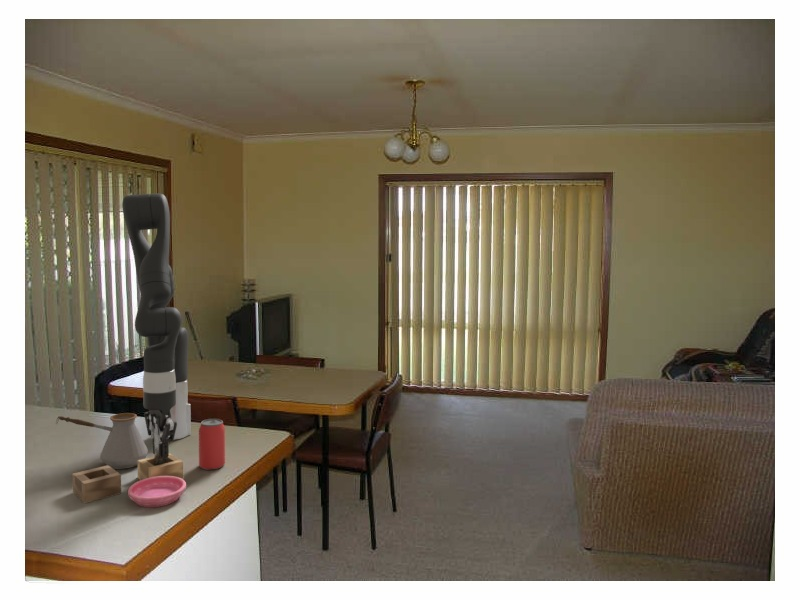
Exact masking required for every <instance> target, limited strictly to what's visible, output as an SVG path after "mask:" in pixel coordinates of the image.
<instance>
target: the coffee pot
mask: <svg viewBox="0 0 800 600" xmlns="http://www.w3.org/2000/svg"><path fill="white" fill-rule="evenodd" d="M137 417H138V415H137V414H136V413H133V412H121V413H117V414H113V415H112V416H110V418H109V420H110V421H111V422H112V426H106V425H101V424H96V423H92V422H91V421H90V422H89V421H87V420H86V421H85V420H82V419H79V418H78V419H77V418H70V417H69V416H68V417H64V416H62V415H61V416H58V417H57V418H56V421H55V425H57V424H59V420H60V421H65V422H66V423H69V422H70V423H73V424H75V425H78V426H83V427H84V426H86V427H89V428H96V429H101V430H104V431H109V434H108V436H107V438H106V441H105V443H104V445H103V447H102V450H101V452H100V455H99V458H100V460H101V461H102V462H103V464H105V466H107V465H108V466H110V467H111V468H113V469H114V470H121V469H130V468H133V467H137V466H138V462H137V460H141V459H145V458H147V457H146V456H147V455H148V452H149V450H148V447H147V445H146V444H145V441H144V439H143V437H142V435H141V433H140V431H139V428H137V425H136V424H135V422H136V421H135V420H136V418H137Z"/></svg>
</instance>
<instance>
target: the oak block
mask: <svg viewBox="0 0 800 600" xmlns="http://www.w3.org/2000/svg"><path fill="white" fill-rule="evenodd" d="M137 462H138V465H137V479H139V481H140V480H143V479H146V478H150V477H156V476H174V477H179V478H181V479H183V480H184V461H183V460H182V459H180V458H178V457H176V456H175V455H173V454H171V453H170V452H169V456H168V457H167V463H165V464H161V465H157V466H155V455H154V456H153V455H152V456H150V457H145V458H144V459H141V460H137Z"/></svg>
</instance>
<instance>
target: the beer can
mask: <svg viewBox="0 0 800 600" xmlns="http://www.w3.org/2000/svg"><path fill="white" fill-rule="evenodd" d="M225 464H226V429H225V425H224V421H223V420H222V419H220V418H208V419H204V420H202V421H201V422H200V426H199V428H198V465H199V467H200V468H201V469H203V470H209V471H210V470H217V469H220V468H222V467H224V465H225Z"/></svg>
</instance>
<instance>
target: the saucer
mask: <svg viewBox="0 0 800 600" xmlns="http://www.w3.org/2000/svg"><path fill="white" fill-rule="evenodd" d="M186 489H187V482H186V481H185V480H184V478H183V479H181V478H179V477H174V476H156V477H150V478H146V479H143V480H140V479H139V480H138V481H136V482H134V483H133V484H131V486H129V487H128V490H127V493H128V497H129V499H131V500H132V501H133V502H135V503H136V505H137V506H141V507H143V506H144V508H158V507H163V506H167V505H170V504H172V503H174V501H175V502H176V501H177V500H179V498H180V497H181V496H182V495H183V494H184V492H185V491H186Z"/></svg>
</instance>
